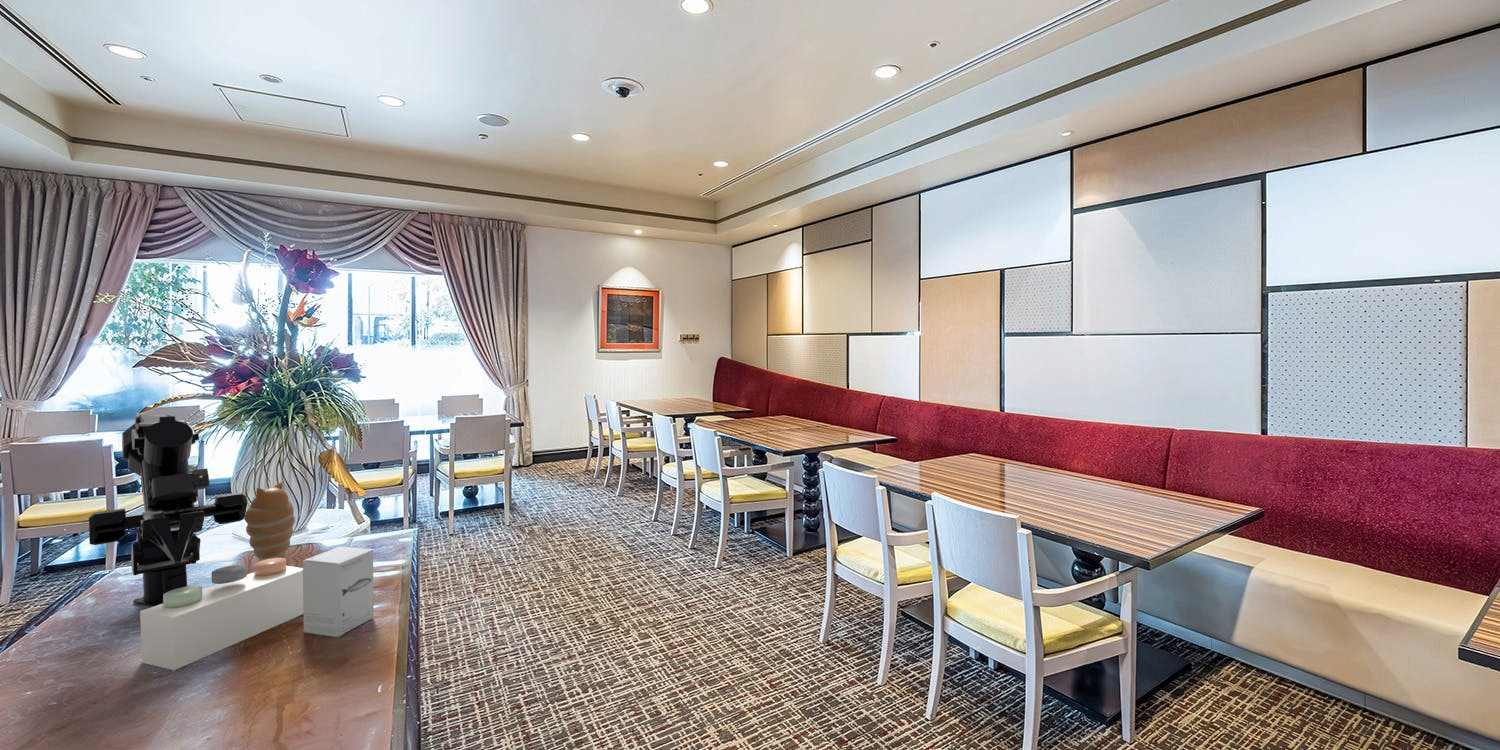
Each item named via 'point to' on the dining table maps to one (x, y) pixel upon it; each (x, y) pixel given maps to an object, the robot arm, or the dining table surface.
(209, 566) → the dining table surface
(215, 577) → the grey button
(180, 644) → the button bar
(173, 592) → the sage button
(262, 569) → the terracotta button
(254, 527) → the cat ice cream
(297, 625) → the dining table surface
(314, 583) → the supplement box
